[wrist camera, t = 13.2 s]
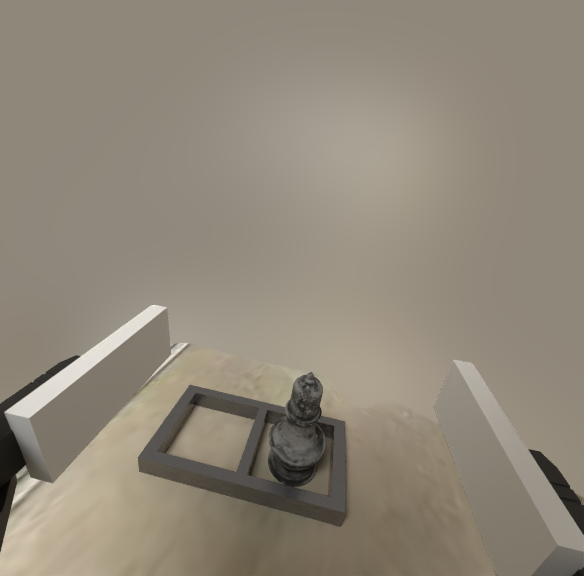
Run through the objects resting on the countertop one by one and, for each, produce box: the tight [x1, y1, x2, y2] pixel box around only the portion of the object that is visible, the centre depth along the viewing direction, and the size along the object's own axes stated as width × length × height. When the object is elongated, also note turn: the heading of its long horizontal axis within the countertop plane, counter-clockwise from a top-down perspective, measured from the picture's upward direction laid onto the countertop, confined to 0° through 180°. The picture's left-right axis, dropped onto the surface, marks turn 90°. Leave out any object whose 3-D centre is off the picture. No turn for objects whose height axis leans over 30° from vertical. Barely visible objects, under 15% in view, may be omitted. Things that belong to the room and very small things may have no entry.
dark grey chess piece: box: [268, 372, 326, 487], centre depth 28 cm, size 6×6×12 cm
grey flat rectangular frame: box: [138, 385, 346, 526], centre depth 31 cm, size 20×10×2 cm, turn 81°
